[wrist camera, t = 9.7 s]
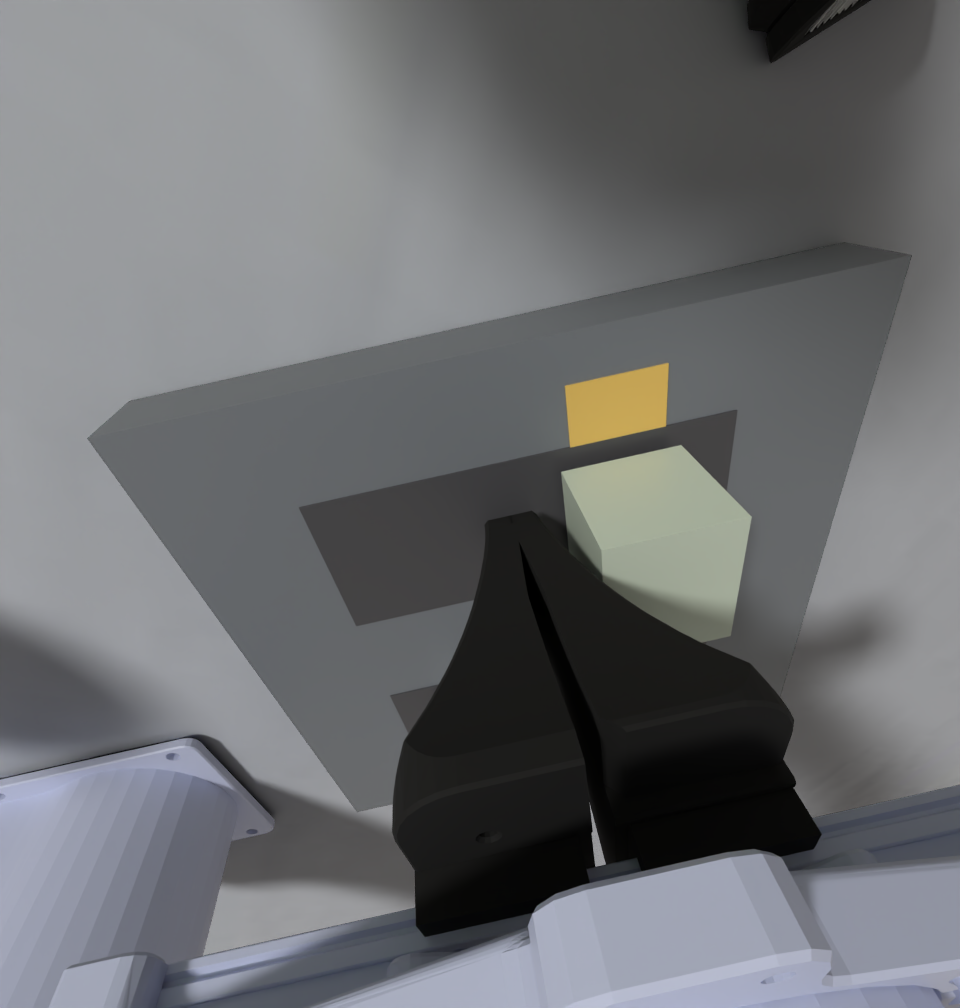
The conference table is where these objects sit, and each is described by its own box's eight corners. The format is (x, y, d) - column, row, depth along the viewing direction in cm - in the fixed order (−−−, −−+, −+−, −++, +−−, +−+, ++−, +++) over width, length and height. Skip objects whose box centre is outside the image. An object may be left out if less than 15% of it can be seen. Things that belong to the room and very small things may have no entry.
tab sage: (571, 577, 14) (607, 663, 12) (561, 471, 12) (601, 550, 10) (674, 554, 14) (730, 636, 12) (681, 444, 12) (751, 516, 10)
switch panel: (360, 764, 23) (356, 813, 21) (129, 400, 12) (86, 439, 11) (746, 677, 23) (774, 719, 21) (844, 242, 12) (914, 255, 11)
